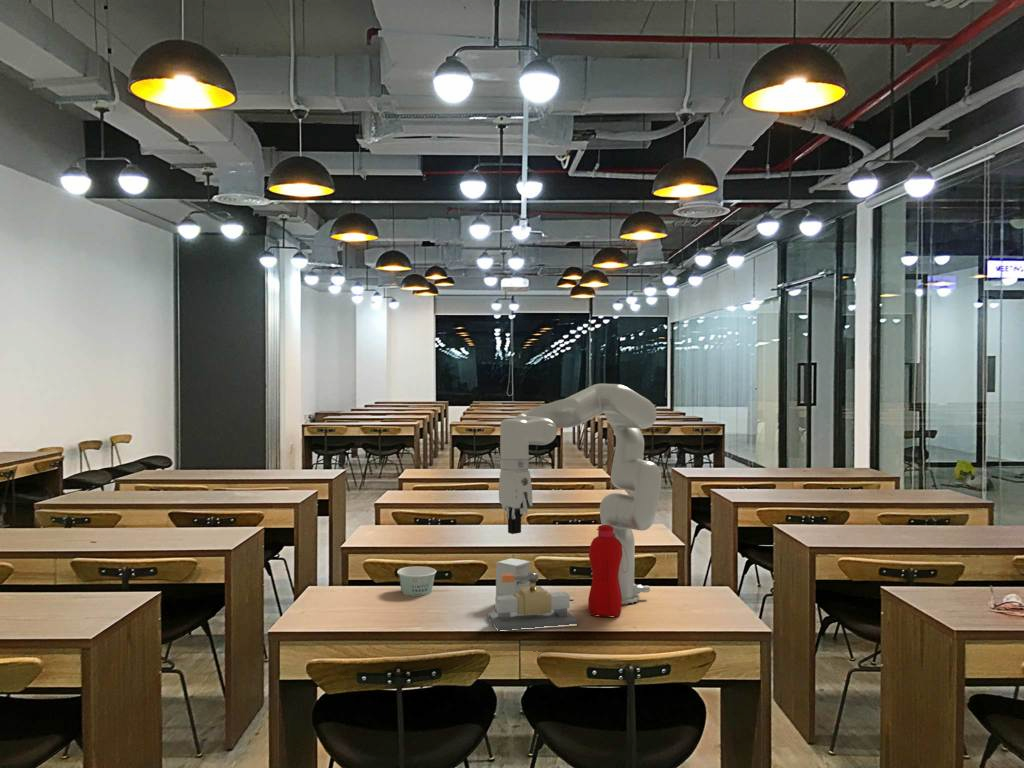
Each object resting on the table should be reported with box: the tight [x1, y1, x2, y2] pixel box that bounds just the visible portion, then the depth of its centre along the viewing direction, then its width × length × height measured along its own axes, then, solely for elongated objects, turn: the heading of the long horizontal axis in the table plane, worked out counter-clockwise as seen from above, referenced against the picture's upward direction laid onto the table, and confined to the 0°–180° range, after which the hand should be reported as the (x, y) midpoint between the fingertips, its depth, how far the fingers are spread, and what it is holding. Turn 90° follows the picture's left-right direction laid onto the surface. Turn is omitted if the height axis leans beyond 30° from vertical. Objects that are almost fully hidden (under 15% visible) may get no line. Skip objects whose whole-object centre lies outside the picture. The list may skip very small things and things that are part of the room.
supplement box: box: [495, 557, 531, 596], centre depth 255 cm, size 7×7×13 cm
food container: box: [396, 565, 437, 597], centre depth 268 cm, size 12×12×6 cm
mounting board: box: [487, 609, 579, 632], centre depth 238 cm, size 22×12×2 cm, turn 104°
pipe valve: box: [494, 581, 571, 621], centre depth 238 cm, size 20×6×10 cm, turn 104°
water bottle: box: [587, 524, 628, 617], centre depth 246 cm, size 9×11×25 cm
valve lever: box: [501, 571, 539, 583], centre depth 237 cm, size 10×3×2 cm, turn 101°
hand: (514, 532), depth 235 cm, fingers closed
